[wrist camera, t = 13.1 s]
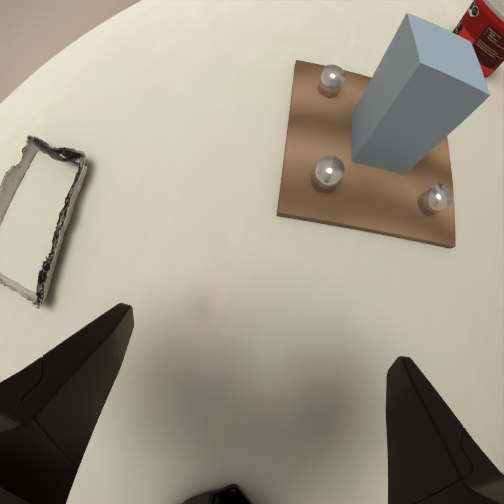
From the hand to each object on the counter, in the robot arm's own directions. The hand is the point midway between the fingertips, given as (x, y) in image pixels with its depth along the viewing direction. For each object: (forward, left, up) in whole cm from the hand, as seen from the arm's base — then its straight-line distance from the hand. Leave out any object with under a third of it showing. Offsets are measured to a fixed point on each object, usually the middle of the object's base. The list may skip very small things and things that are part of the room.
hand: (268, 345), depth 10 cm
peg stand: (+7, -17, -13) cm, 23 cm away
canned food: (+13, -43, -14) cm, 47 cm away
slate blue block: (+7, -17, -13) cm, 23 cm away
